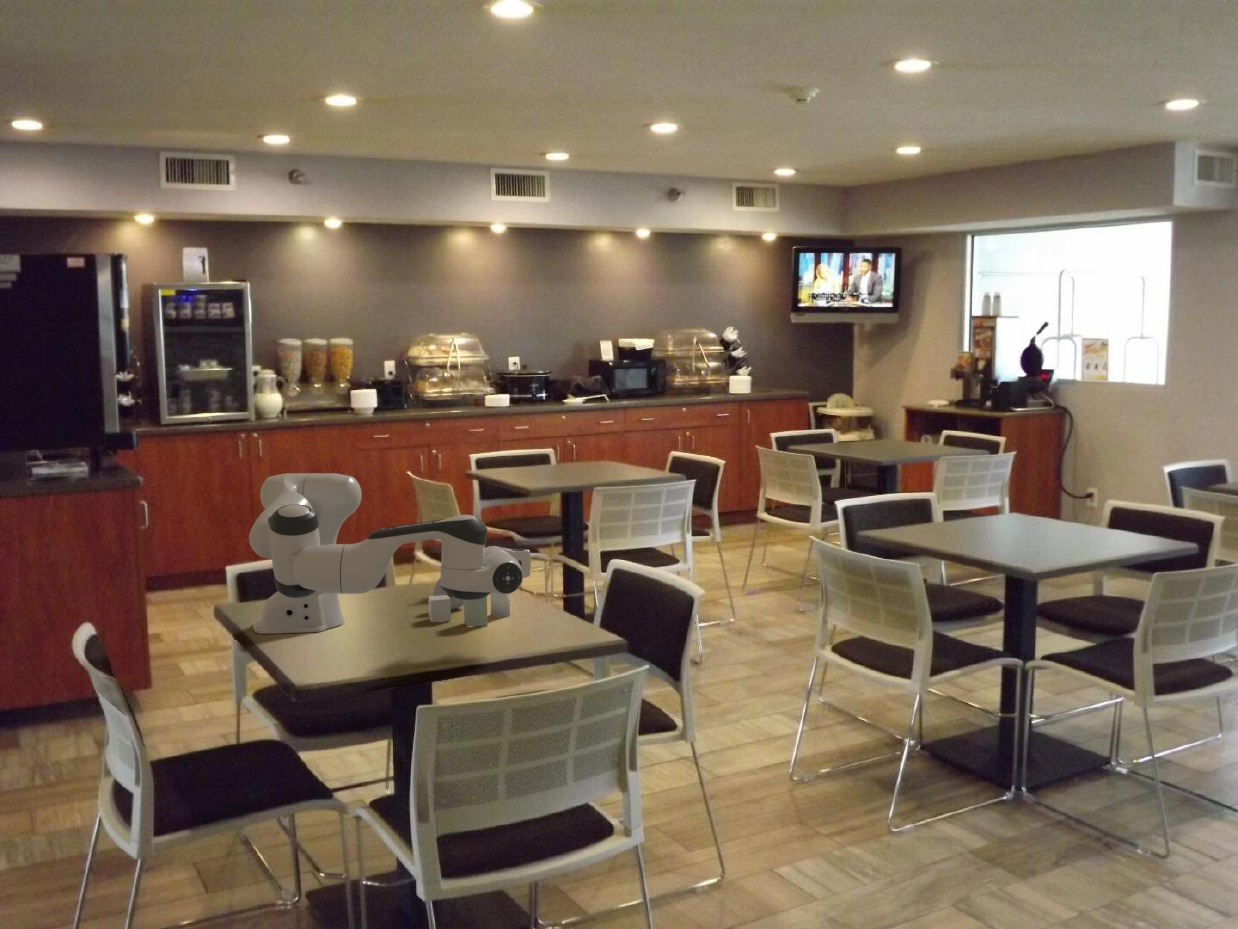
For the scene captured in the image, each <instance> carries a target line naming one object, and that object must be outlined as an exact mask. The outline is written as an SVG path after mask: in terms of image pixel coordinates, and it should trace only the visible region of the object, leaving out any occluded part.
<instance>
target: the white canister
mask: <svg viewBox="0 0 1238 929" xmlns="http://www.w3.org/2000/svg"><path fill="white" fill-rule="evenodd" d="M510 595H511V594H498V593H493V592H491V593H490V617H492V616H493V617H492V618H496V617H502V618H507V617H508V618H509V616H511V608H510V607H511V602H510V601H511V600H510V599H511V598H510Z"/></svg>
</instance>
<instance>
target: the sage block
mask: <svg viewBox="0 0 1238 929" xmlns="http://www.w3.org/2000/svg"><path fill="white" fill-rule="evenodd" d="M487 600H488V596H486V597H484V598H482V599H475V600H464V604H463V606H464V607H463V612H464V613H463V614H464V615H463V616H464V617H463V618H464V619H463V620H464V625H465V626H466V625H467V626H482V627H488V601H487ZM467 626H466V627H467Z"/></svg>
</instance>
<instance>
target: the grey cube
mask: <svg viewBox="0 0 1238 929" xmlns="http://www.w3.org/2000/svg"><path fill="white" fill-rule="evenodd" d="M449 597H450V595H449V594H447V595H441V596H434V595H429V596H428V597H427V598H428V604H427V605H428V619H430V620H431V621H430V620H429V621H430V623H431V622H439V623H441V622H440V621H450V620H451V621H452V610H451V600H450V598H451V597H450V598H449Z"/></svg>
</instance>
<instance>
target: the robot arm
mask: <svg viewBox="0 0 1238 929" xmlns="http://www.w3.org/2000/svg"><path fill="white" fill-rule="evenodd" d="M259 494H260V496H259V497H260V502H261V505H262V506H263V508H264V510H263V511H262V512H261V513H260V515H259V516H258V517H257V519H256V520H255V522H253V525H252V527H251V529H250V531H249V536H248V541H249V545H250V547H251V549H252V551H254V553H255V554H256V555H257V556H259V557H262V558H265V559H271V563H272V569H273V570H272V571H273V573H274V574H273V582H274V584H275V588H276V589H277V591H275V593H274V594H272V595H271V596H270V597H269V598H268V599H267V600H265V602H264V604H263V607H262V610H261V616H260V618H259V619H256V620H254V622H253V624H252V630H253V631H254V632H255V633H257V634H263V635H264V634H265V635H266V634H267V635H268V634H269V635H270V634H292V633H294V634H296V633H297V634H299V633H300V634H301V633H319V632H322V631H326V630H328V629H332V628H335V627H339V626H341V625H343V624H344V623H345V619H344V616H343V612H342V610H341V604H340V600H339V595H341V594H342V595H343V594H344V595H352V594H353V595H355V594H357V595H359V594H366V593H368V592H370V591H372V590H374V589H375V588H376V587H377V586H378V585H379V584H380V582H381V581H382V580H383V578H384V576H385V574H386V572H387V571H388V568H389V565H390V562H391V561H392V558H393V556H394V554H395V552H396V551H397V550H398V548H399V547H401V546H402V545H405V544H410V543H418V542H424V541H431V540H440V542H441V560H440V578H441V585H440V586H441V587H442V589H443V590H444V591H445V592H446V594H447V595H448V596H449V597H450V596H451V597H455V598H458V599H464V600H475V599H482V598H484V597H486V596H487V597H488V596H489V595H491V592H493V593H498V594H510V595H511V594H513V593H514V592H516V591H517V590H518V589H519V588H520V587H521V585H522V583H523V580H524V579H525V578H529V577H530V576H531V567H532V566H531V564H532V562H531V558H532V557H531V551H530V550H529V549H526V548H525V549H524V548H507V547H501V546H499V545H498V546H497V545H489V546H487V547H486V544H487V539H488V538H487V536H488V528H487V527H486V524H485V523H484V522H483V520H481V518H479V517H478V516H477V515H471V514H459V515H455V516H451V517H448V518H442V519H437V520H436V519H435V520H432V521H431V520H430V521H423V522H417V523H408V524H401V525H396V526H389V527H383V528H380V529H377V530H373V531H371V532H370V533H369V535H368V536H367V538H366V539H364V540H362V541H360V542H356V543H339V544H338V543H337V541H338V540H337V539H338V534H339V531H340V529H341V527H342V525H343V523H344V522H345V521H346V520H347V519H348V518H349V517H351V515H352V514H354V513H355V512H356V511H357V510H358V508H359V506H360V504H361V502H362V496H363V495H362V494H363V493H362V488H361V486H360V484H359V481H357V479H356V478H355V477H353V476H351V475H346V474H341V473H334V472H332V473H326V472H325V473H323V472H322V473H321V472H319V473H317V472H314V473H312V472H310V473H309V472H308V473H307V472H305V473H303V472H298V473H297V472H296V473H295V472H294V473H293V472H291V473H290V472H289V473H288V472H286V473H279V474H276V475H270V476H268V477H267V478H265V480H264V482H263V484H262V485H261V488H260V492H259Z"/></svg>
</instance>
